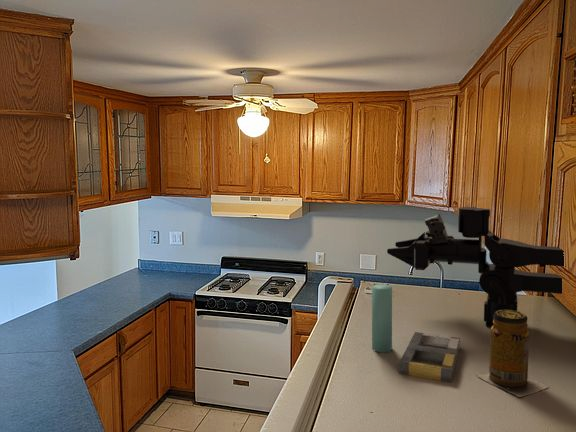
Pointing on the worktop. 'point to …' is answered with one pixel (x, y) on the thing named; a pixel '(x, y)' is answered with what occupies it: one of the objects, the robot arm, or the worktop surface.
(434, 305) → the worktop surface
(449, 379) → the socket plate
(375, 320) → the plug
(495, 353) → the condiment
